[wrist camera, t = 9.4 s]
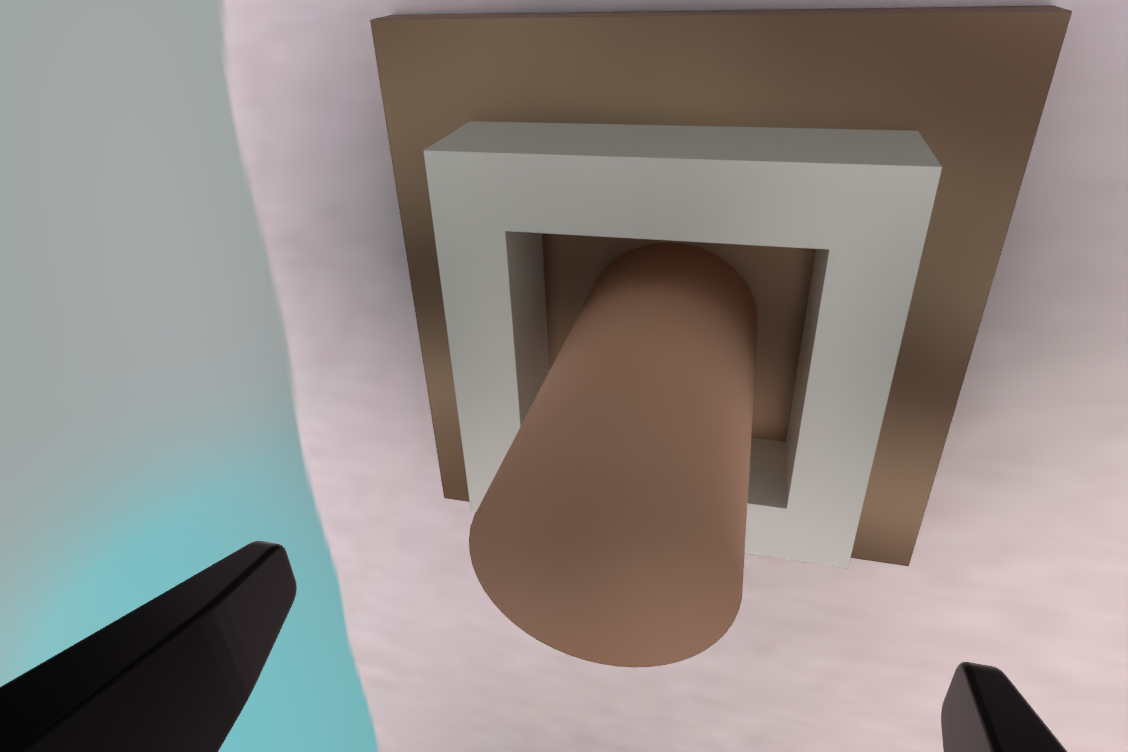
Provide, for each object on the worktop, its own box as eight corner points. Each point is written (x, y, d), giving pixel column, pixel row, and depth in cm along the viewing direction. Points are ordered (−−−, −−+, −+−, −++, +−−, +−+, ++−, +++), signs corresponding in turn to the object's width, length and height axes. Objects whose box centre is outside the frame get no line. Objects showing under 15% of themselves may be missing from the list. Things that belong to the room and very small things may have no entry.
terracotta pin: (748, 403, 18) (730, 689, 11) (588, 386, 19) (482, 640, 12) (767, 248, 16) (757, 485, 9) (585, 237, 17) (455, 445, 10)
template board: (903, 539, 20) (924, 644, 17) (456, 477, 23) (409, 557, 20) (1053, 6, 13) (1131, 28, 10) (391, 15, 16) (306, 35, 13)
